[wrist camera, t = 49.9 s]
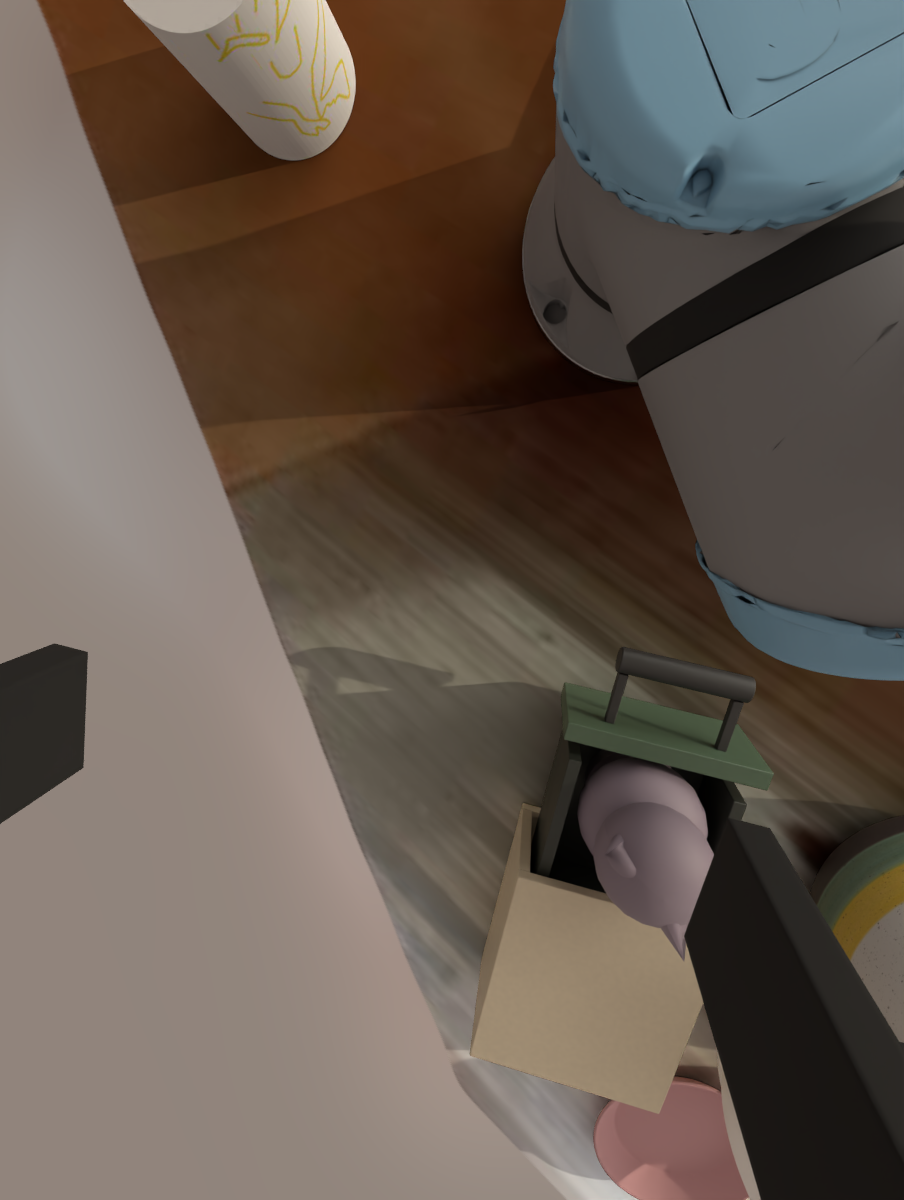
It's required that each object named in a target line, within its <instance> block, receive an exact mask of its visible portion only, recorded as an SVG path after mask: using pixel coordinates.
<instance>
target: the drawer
mask: <svg viewBox="0 0 904 1200" xmlns="http://www.w3.org/2000/svg"><path fill="white" fill-rule="evenodd" d="M616 671H617V672H618V673H617V676H616V680H615V683H614V686H613V690H612V693H607V692H602V691H598V690H594V689H590V688H586V687H582V686H578V685H574V684H570V683H564V686H563V690H562V694H561V707H562V721H563V730H562V733H561V737H560V740H559V744H558V748H557V751H556V755H555V759H554V762H553V766H552V770H551V773H550V777H549V781H548V784H547V788H546V792H545V795H544V799H543V803H542V806H541V810H540V813H539V817H538V821H537V824H536V828H535V832H534V835H533V839H532V843H531V862H530V873H534V874H537V875H541V876H545V877H548V878H552V879H555V880H559V881H563V882H566V883H570V884H574V885H577V886H581V887H584V888H588V889H592V890H595V891H599V892H603V893H606V892H605V890H604V889H603V887H602V885H601V883H600V881H599V880H598V877H597V873H596V868H595V862H594V856H593V855H592V853H591V852H590V850H589V848H588V846H587V844H586V843H585V841H584V839H583V837H582V835H581V831H580V826H579V821H578V815H577V811H578V805H579V798H580V793H581V791H582V789H583V788H584V786H585V782H584V778H585V773H586V769H587V766H588V765H589V763H590V761H591V760H592V758H593V757H594V756H595V755H596V754H597V753H599V752H600V751H601V750H602V749H604V750H608V751H612V752H616V753H620V754H624V755H628V756H632V757H636V758H640V759H644V760H648V761H652V762H656V763H660V764H664V765H667V766H671V768H672V770H674V771H676V772H677V773H679V774H680V775H681V776H682V777H683V778H684V779H685V780H686V781H687V782H688V783H689V784H690V785H691V786H692V787H693V789H694V790H695V792H696V794H697V796H698V798H699V800H700V802H701V803H702V805H703V807H704V810H705V814H706V821H707V828H708V835H707V842H708V844H709V846H710V848H711V849H712V851H713V853H714V854H715V851H716V848H717V846H718V843H719V840H720V837H721V835H722V832H723V829H724V827H725V824H726V821H727V819H728V818H731V819H735V820H739V821H741V819H742V816H743V814H744V811H745V808H746V806H747V804H746V802H745V801H744V799H743V797H742V796H741V794H740V792H739V790H738V789H737V787H736V785H735V784H734V782H735V783H739V784H743V785H747V786H751V787H755V788H759V789H763V790H768V787H769V785H770V782H771V780H772V777H773V772H772V771H771V769H770V768H769V767H768V765H767V764H766V762H765V761H764V760H763V758H762V757H761V756H760V754H759V753H758V751H757V750H756V749H755V747H754V746H753V745H752V743H751V742H750V740H749V739H748V738H747V736H746V735H745V733H744V732H743V731H742V729H741V728H740V727H739V725H738V724H736V723H737V721H738V718H739V715H740V712H741V709H742V707H743V704H744V703H743V702H745V703H748V702H750V701H751V700H752V698H753V696H754V694H755V689H756V682H755V679H754V678H753V677H750V676H745V675H741V674H737V673H733V672H728V671H724V670H720V669H716V668H711V667H707V666H703V665H699V664H694V663H690V662H686V661H682V660H677V659H673V658H669V657H664V656H660V655H656V654H652V653H647V652H643V651H639V650H635V649H630V648H626V647H621V648H620V650H619V652H618V655H617V659H616ZM628 675H632V676H636V677H641V678H645V679H649V680H653V681H657V682H662V683H666V684H670V685H674V686H678V687H682V688H687V689H691V690H695V691H699V692H703V693H708V694H712V695H716V696H720V697H724V698H728V699H731V700H730V703H729V706H728V708H727V711H726V714H725V717H724V720H723V721H722V720H718V719H714V718H709V717H705V716H701V715H697V714H693V713H689V712H685V711H681V710H677V709H672V708H668V707H664V706H660V705H656V704H652V703H648V702H644V701H640V700H635V699H631V698H627V697H623V693H624V689H625V686H626V683H627V679H628Z"/></svg>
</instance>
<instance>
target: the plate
mask: <svg viewBox="0 0 904 1200" xmlns="http://www.w3.org/2000/svg"><path fill="white" fill-rule="evenodd" d="M593 1139H594V1148H595V1152H596V1155H597V1158H598V1160H599V1162H600V1164H601V1166H602V1168H603V1169H604V1171H605V1172H606V1173H607V1175H608V1176H609V1177H610V1178H611V1179H612V1180H613V1181H614V1182H615V1183H616V1184H617V1185H618V1186H619V1187H620V1188H622V1189H623V1190H624V1191H626V1192H627V1193H628V1194H630V1195H632V1196H633V1197H635V1198H637V1199H639V1200H745V1199H747V1198H748V1197H749V1195H748V1193H747V1191H746V1188H745V1186H744V1183H743V1181H742V1178H741V1176H740V1173H739V1170H738V1167H737V1165H736V1162H735V1159H734V1155H733V1152H732V1149H731V1145H730V1142H729V1138H728V1134H727V1129H726V1124H725V1119H724V1113H723V1106H722V1095H721V1091H719V1090H717V1089H715V1088H713V1087H711V1086H709V1085H707V1084H704V1083H702V1082H699V1081H696V1080H693V1079H689V1078H684V1077H677V1076H674V1078H673V1080H672V1083H671V1085H670V1088H669V1090H668V1093H667V1095H666V1098H665V1100H664V1103H663V1105H662V1108H661V1110H660V1113H659V1114H657V1113H653V1112H650V1111H647V1110H644V1109H641V1108H637V1107H634V1106H631V1105H628V1104H624V1103H621V1102H618V1101H615V1100H611V1101H609V1102H608V1104H607V1105H606V1106H605V1107H604V1108H603V1110H602V1111H601V1113H600V1114H599V1116H598V1118H597V1121H596V1124H595V1128H594V1136H593Z"/></svg>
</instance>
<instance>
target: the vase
mask: <svg viewBox="0 0 904 1200" xmlns="http://www.w3.org/2000/svg"><path fill="white" fill-rule="evenodd" d="M810 895H811V897H812V899H813V900H814V902H815V904H816V905H817V907H818V909H819V910H820V912H821V914H822V915H823V917H824V918H825V920H826V922H827V923H828V925H829V927H830V928H831V930H832V932H833V933H834V935H835V937H836V938H837V940H838V942H839V943H840V945H841V946H842V948H843V950H844V951H845V953H846V955H847V956H848V958H849V960H850V961H851V963H852V965H853V966H854V968H855V970H856V971H857V973H858V974H859V976H860V978H861V979H862V981H863V983H864V984H865V986H866V988H867V989H868V991H869V993H870V994H871V996H872V998H873V999H874V1001H875V1002H876V1004H877V1006H878V1007H879V1009H880V1011H881V1012H882V1014H883V1016H884V1017H885V1019H886V1021H887V1022H888V1024H889V1026H890V1027H891V1029H892V1030H893V1032H894V1034H895V1035H896V1037H897V1039H898V1040H899V1042H903V1043H904V815H903V816H898V817H894V818H890V819H887V820H884V821H881V822H878V823H875V824H873V825H871V826H868V827H866V828H864V829H862V830H861V831H859V832H857V833H855V834H854V835H852V836H851V837H849V838H848V839H847V840H845V841H844V842H843V843H841V844H840V845H839V846H838V847H837V848H836V849H835V850H834V851H833V852H832V853H831V854H830V855H829V857H828V858H827V859H826V860H825V862H824V863H823V865H822V866H821V868H820V870H819V872H818V874H817V876H816V878H815V881H814V883H813V886H812V889H811V893H810Z"/></svg>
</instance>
